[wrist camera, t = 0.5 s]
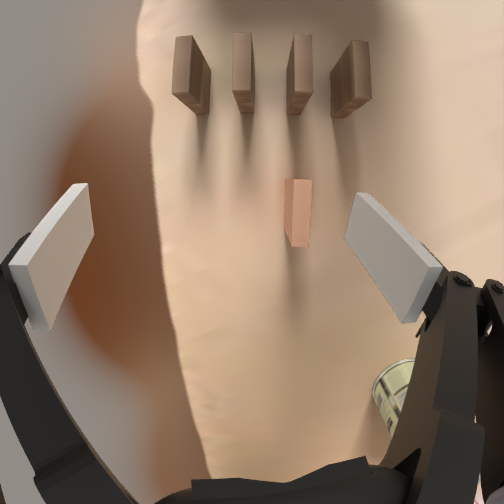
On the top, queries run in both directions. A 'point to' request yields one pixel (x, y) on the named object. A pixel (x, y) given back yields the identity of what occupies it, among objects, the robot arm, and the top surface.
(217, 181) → the top surface
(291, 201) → the domino
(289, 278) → the top surface
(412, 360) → the coffee can
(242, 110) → the domino
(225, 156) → the top surface
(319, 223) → the top surface
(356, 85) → the domino
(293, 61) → the domino
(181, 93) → the domino
